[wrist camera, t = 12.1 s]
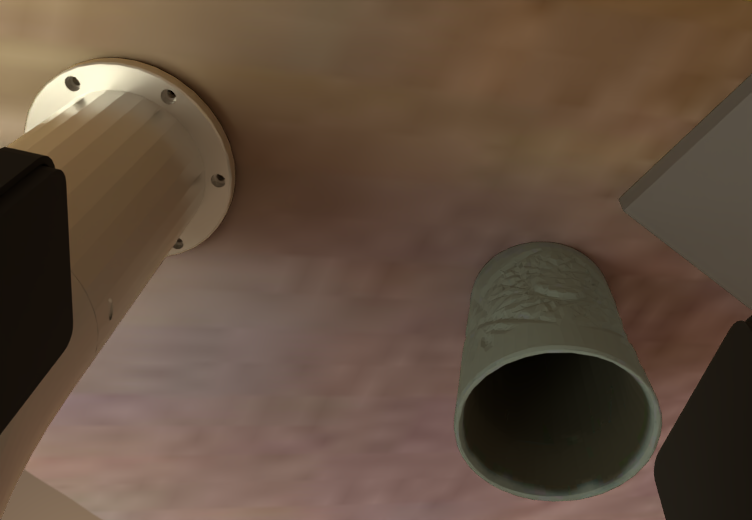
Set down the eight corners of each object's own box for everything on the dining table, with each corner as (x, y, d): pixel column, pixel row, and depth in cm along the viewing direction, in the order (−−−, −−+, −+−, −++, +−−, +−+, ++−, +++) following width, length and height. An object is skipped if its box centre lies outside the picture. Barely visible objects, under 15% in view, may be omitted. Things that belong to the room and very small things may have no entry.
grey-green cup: (520, 381, 49) (533, 527, 39) (423, 285, 46) (410, 417, 36) (651, 305, 45) (704, 447, 35) (554, 194, 42) (582, 314, 31)
